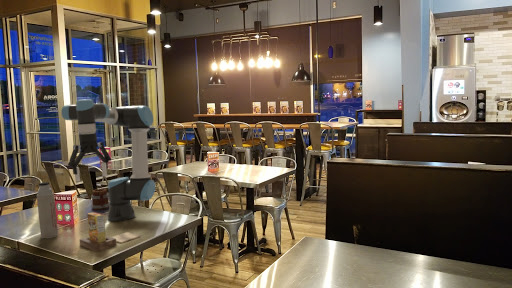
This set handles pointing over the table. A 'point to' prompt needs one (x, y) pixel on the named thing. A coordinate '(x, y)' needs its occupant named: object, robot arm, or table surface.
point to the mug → (100, 199)
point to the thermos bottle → (47, 211)
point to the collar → (98, 246)
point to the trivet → (125, 237)
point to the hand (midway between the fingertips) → (91, 178)
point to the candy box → (96, 227)
